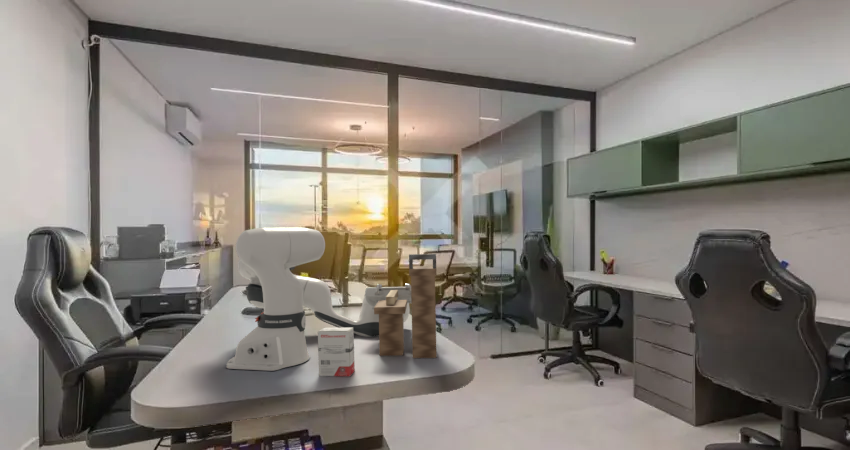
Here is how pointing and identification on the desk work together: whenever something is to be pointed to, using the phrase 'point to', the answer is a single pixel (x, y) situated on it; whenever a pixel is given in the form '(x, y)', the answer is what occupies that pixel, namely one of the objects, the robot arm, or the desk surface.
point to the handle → (391, 297)
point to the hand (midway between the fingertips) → (393, 286)
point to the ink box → (336, 351)
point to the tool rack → (421, 314)
